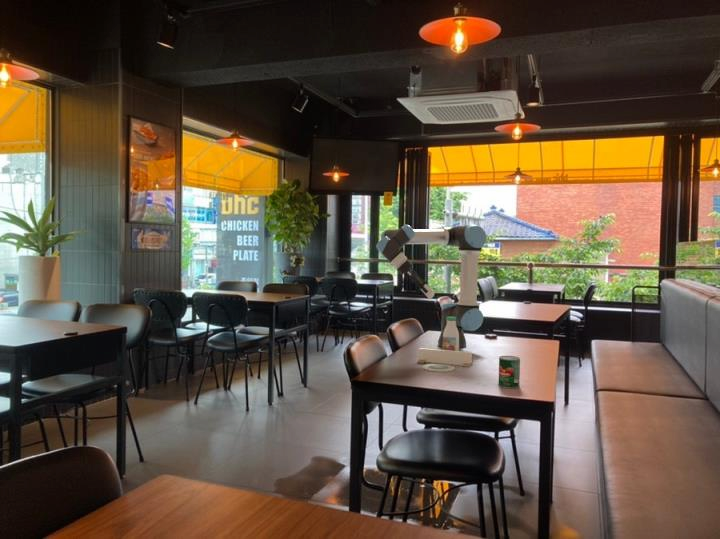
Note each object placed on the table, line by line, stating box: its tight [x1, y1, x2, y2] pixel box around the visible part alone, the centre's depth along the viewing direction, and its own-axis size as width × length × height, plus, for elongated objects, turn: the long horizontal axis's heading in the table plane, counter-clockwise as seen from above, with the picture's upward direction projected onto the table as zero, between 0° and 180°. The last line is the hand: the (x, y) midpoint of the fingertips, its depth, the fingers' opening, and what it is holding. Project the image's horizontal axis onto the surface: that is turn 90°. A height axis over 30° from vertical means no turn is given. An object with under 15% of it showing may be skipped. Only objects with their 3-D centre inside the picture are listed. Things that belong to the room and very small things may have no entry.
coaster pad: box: [422, 363, 456, 373], centre depth 249 cm, size 14×14×1 cm
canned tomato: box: [498, 355, 521, 389], centre depth 219 cm, size 8×8×11 cm
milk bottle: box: [442, 317, 460, 351], centre depth 271 cm, size 8×8×20 cm
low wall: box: [417, 347, 473, 368], centre depth 260 cm, size 24×6×6 cm, turn 69°
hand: (432, 296), depth 272 cm, fingers open, 13 cm apart
